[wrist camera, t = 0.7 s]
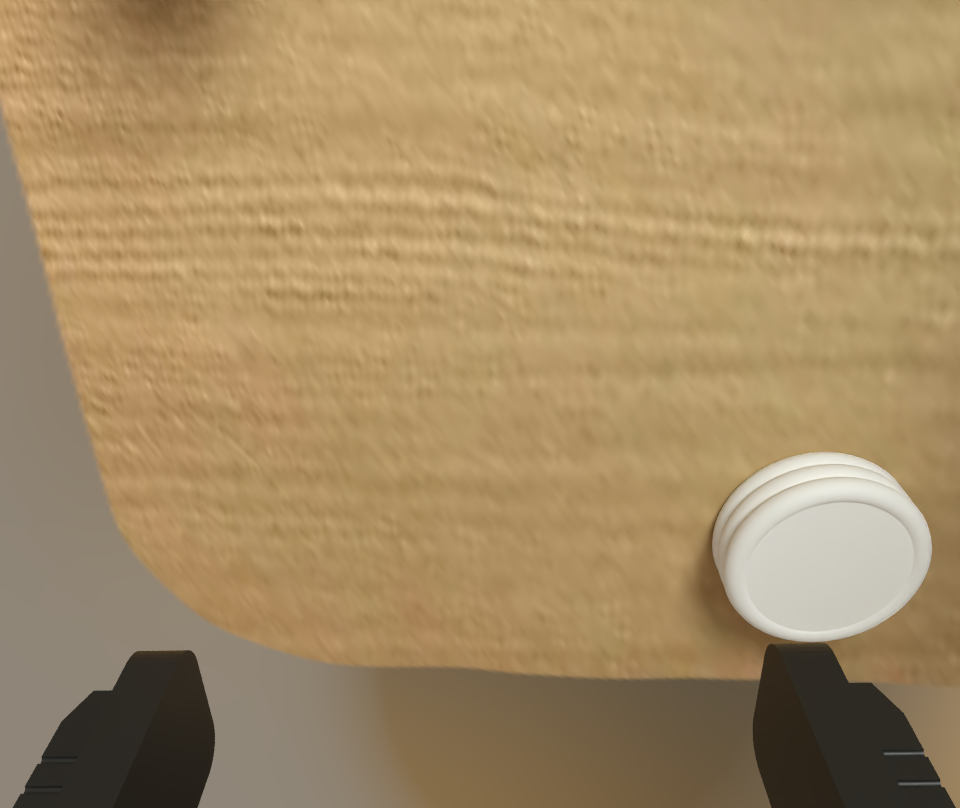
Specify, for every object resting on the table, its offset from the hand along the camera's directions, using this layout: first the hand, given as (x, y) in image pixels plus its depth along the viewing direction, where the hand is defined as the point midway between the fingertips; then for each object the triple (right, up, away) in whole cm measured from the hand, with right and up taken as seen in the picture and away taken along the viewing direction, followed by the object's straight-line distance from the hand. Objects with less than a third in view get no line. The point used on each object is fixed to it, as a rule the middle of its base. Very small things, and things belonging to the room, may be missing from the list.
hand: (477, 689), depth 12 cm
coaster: (+17, -2, +32) cm, 36 cm away
